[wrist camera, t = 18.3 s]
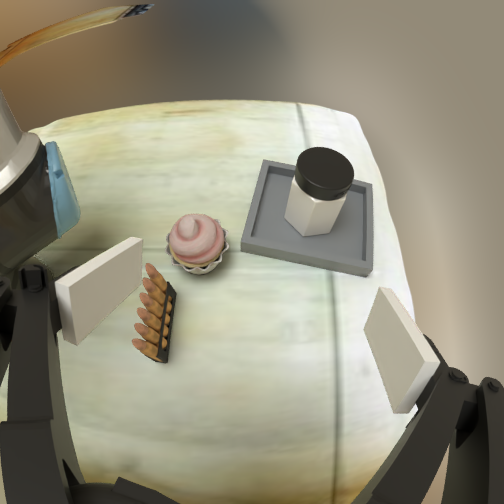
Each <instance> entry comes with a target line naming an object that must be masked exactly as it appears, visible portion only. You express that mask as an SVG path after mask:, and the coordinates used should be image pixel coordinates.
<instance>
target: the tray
mask: <svg viewBox="0 0 504 504" xmlns="http://www.w3.org/2000/svg"><path fill="white" fill-rule="evenodd" d="M295 168H296V166H294V165H289V164H284V163H279V162H274V161H269V160H263V163H262V166H261V170H260V174H259V177H258V181H257V184H256V188H255V192H254V195H253V199H252V202H251V206H250V210H249V213H248V217H247V221H246V224H245V228H244V232H243V235H242V239H241V251H242V252H247V253H252V254H256V255H261V256H266V257H271V258H276V259H280V260H285V261H290V262H295V263H299V264H304V265H309V266H314V267H319V268H323V269H328V270H333V271H338V272H343V273H347V274H352V275H357V276H362V277H366V276H367V275H368V274H369V273H370V272H371V271H372V270H373V192H372V184H370V183H366V182H362V181H358V180H355V179H353V182H352V185H351V187H350V189H349V190H348V192H347V195H346V200H345V202H344V204H343V206H342V208H341V210H340V212H339V214H338V216H337V219H336V221H335V223H334V225H333V227H332V229H331V231H330V233H328V234H320V235H312V236H305V237H304V236H302V235H301V234H300V233H299V232H298V231H297V230H296V229H295V228H294V227H293V226H292V225H291V224H290V223H289V222H288V221H287V220H286V219H285V218H284V216H285V211H286V207H287V202H288V198H289V193H290V188H291V184H292V180H293V178H294V175H295Z"/></svg>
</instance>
